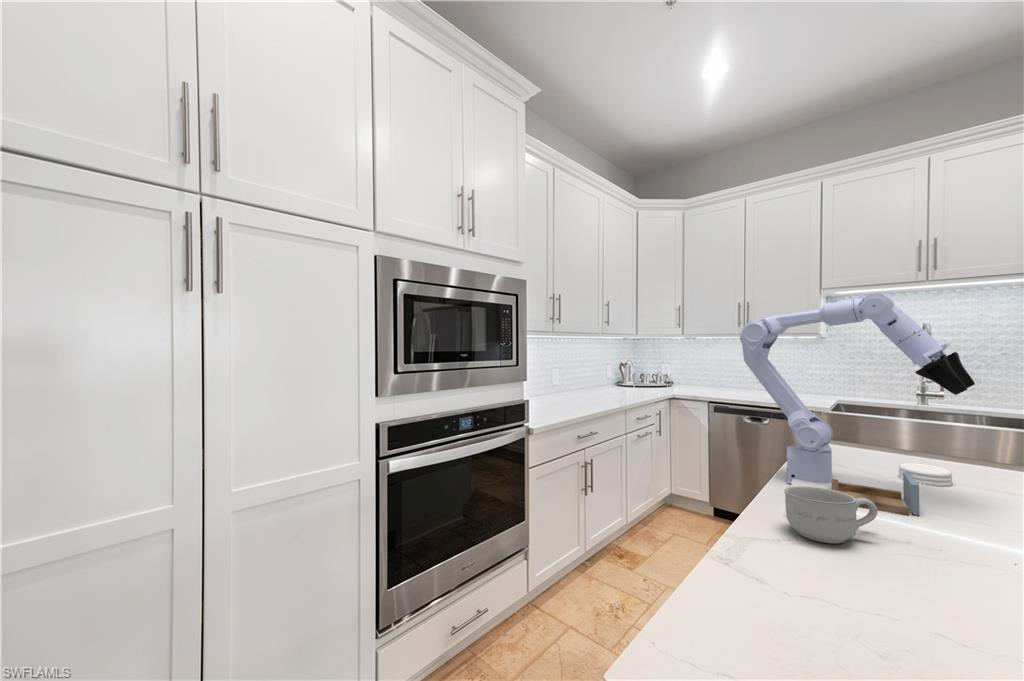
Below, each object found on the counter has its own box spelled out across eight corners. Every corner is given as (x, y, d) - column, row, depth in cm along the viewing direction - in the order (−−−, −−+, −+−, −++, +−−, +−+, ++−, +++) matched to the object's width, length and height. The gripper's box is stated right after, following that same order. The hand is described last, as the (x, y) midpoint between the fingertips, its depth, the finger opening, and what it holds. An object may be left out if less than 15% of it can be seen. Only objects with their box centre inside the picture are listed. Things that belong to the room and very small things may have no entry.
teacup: (787, 542, 75) (787, 496, 75) (781, 519, 85) (781, 479, 85) (889, 560, 69) (889, 511, 69) (870, 534, 78) (870, 490, 78)
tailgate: (911, 517, 83) (911, 484, 83) (903, 501, 92) (903, 471, 92) (919, 519, 82) (919, 485, 82) (910, 503, 91) (910, 472, 91)
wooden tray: (832, 509, 90) (832, 492, 90) (831, 493, 100) (831, 478, 100) (909, 523, 83) (909, 505, 83) (900, 505, 92) (900, 489, 92)
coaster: (902, 473, 117) (902, 460, 117) (954, 482, 109) (954, 468, 109) (895, 480, 110) (895, 467, 110) (950, 490, 103) (949, 475, 103)
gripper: (920, 328, 87) (981, 383, 80) (937, 324, 95) (994, 374, 88) (885, 349, 91) (940, 402, 85) (905, 343, 100) (957, 392, 93)
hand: (965, 389), depth 87 cm, fingers open, 7 cm apart
